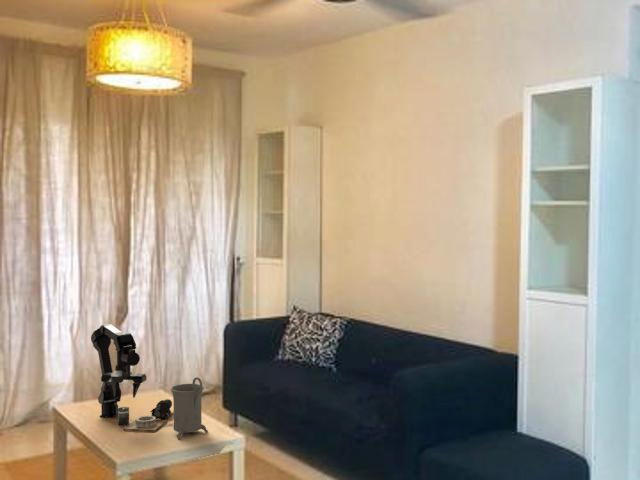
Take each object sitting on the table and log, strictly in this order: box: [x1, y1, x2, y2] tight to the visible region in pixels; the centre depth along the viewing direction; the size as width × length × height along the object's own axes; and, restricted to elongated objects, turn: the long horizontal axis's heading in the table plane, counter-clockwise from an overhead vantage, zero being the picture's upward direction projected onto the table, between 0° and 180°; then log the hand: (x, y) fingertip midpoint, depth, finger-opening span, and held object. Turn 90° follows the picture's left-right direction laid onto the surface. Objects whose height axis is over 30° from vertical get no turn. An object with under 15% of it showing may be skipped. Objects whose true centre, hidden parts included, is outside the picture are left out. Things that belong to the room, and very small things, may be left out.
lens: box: [117, 406, 130, 427], centre depth 292 cm, size 5×5×7 cm
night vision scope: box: [150, 398, 173, 420], centre depth 302 cm, size 8×18×10 cm
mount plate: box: [123, 415, 168, 433], centre depth 289 cm, size 14×14×4 cm
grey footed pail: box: [170, 376, 209, 441], centre depth 279 cm, size 19×15×25 cm
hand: (124, 397), depth 292 cm, fingers open, 9 cm apart
